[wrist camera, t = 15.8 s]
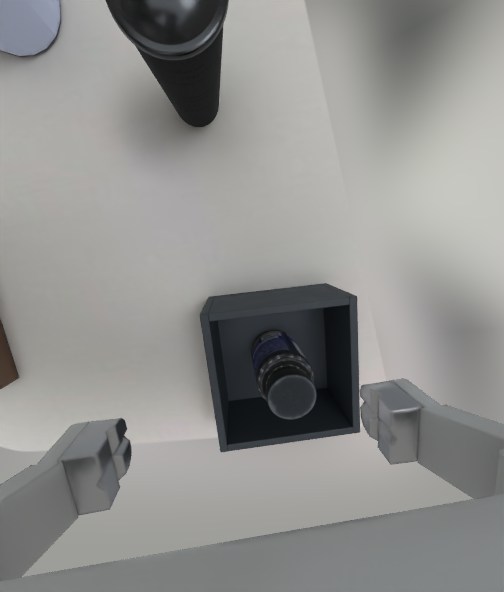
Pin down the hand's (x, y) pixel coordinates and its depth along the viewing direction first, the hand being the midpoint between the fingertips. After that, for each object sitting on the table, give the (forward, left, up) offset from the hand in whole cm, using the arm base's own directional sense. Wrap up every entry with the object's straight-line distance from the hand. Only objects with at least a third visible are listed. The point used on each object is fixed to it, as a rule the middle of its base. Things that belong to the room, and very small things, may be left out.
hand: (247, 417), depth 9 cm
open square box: (+4, -8, -25) cm, 27 cm away
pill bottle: (+4, -9, -25) cm, 26 cm away
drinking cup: (-2, +22, -25) cm, 33 cm away
